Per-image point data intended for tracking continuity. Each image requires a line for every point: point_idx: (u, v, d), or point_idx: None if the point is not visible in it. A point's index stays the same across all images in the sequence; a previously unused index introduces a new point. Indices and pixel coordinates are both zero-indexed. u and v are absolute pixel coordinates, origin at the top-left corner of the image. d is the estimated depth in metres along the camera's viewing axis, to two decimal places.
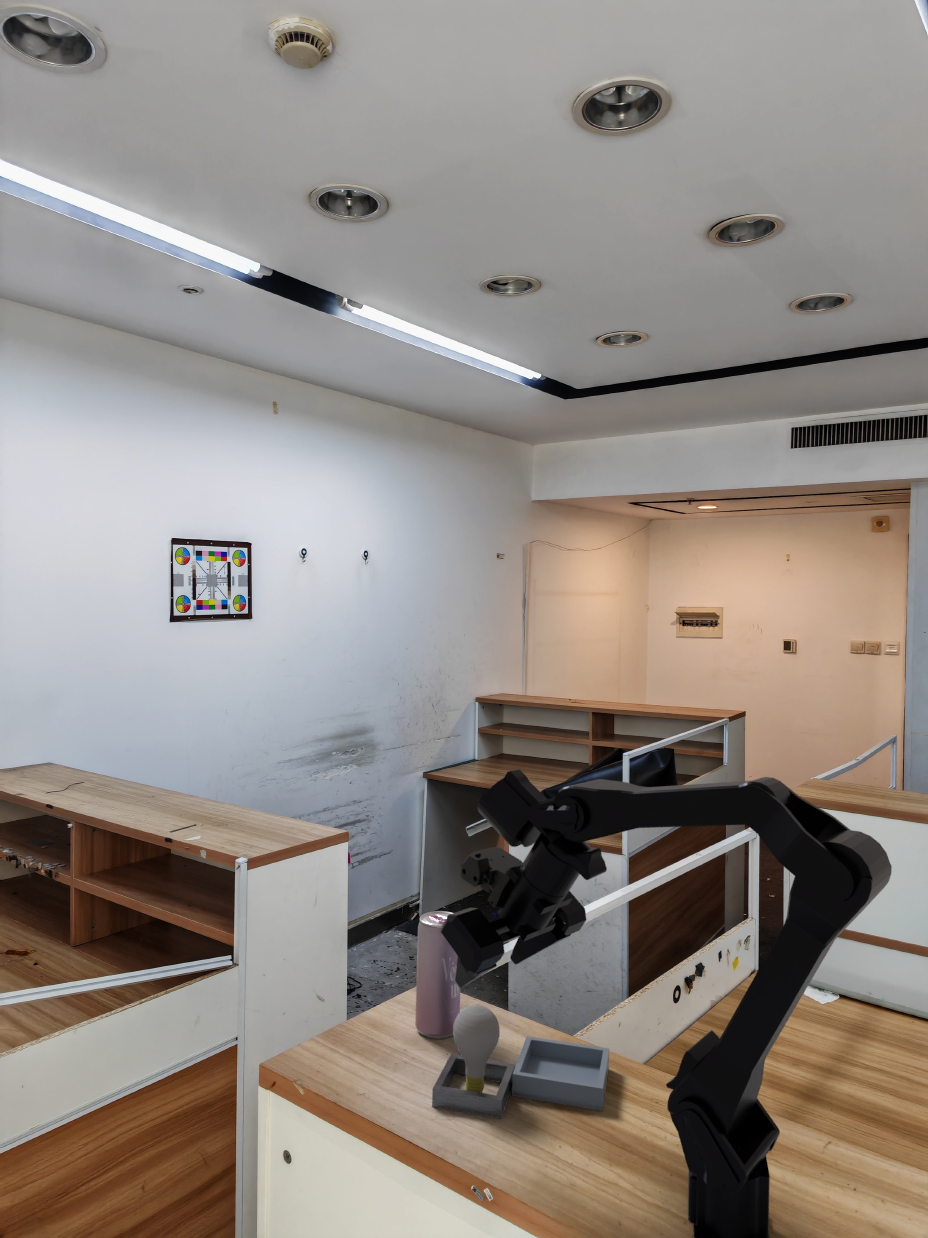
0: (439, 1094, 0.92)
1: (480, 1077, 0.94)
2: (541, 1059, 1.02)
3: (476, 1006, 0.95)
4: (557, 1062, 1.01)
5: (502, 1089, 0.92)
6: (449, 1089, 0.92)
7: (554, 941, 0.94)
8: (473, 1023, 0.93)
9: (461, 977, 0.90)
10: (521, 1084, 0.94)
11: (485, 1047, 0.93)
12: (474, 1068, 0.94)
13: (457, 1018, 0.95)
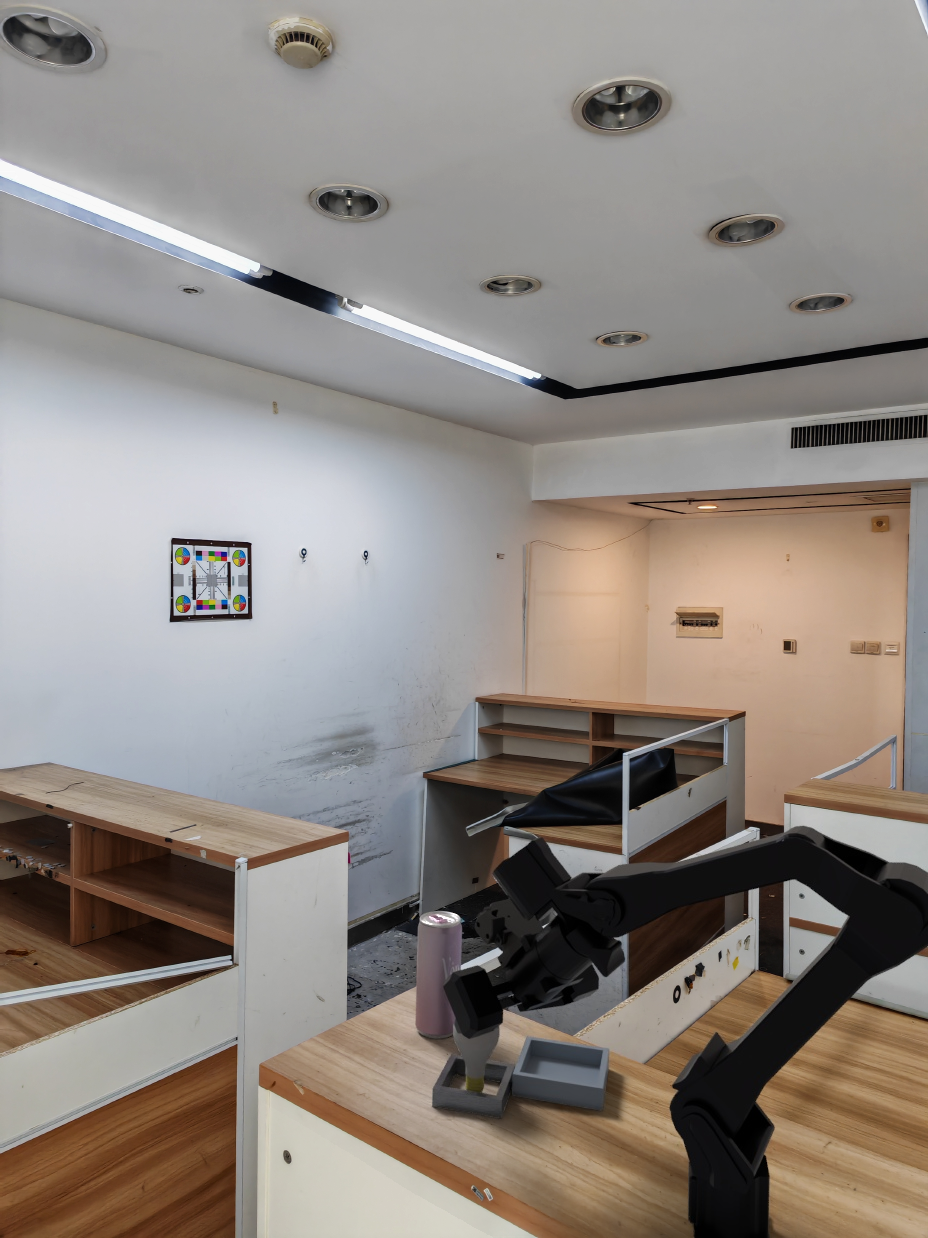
0: (439, 1094, 0.92)
1: (480, 1077, 0.94)
2: (541, 1059, 1.02)
3: None
4: (557, 1062, 1.01)
5: (502, 1089, 0.92)
6: (449, 1089, 0.92)
7: (561, 1004, 0.91)
8: None
9: None
10: (521, 1084, 0.94)
11: (485, 1047, 0.93)
12: (474, 1068, 0.94)
13: None
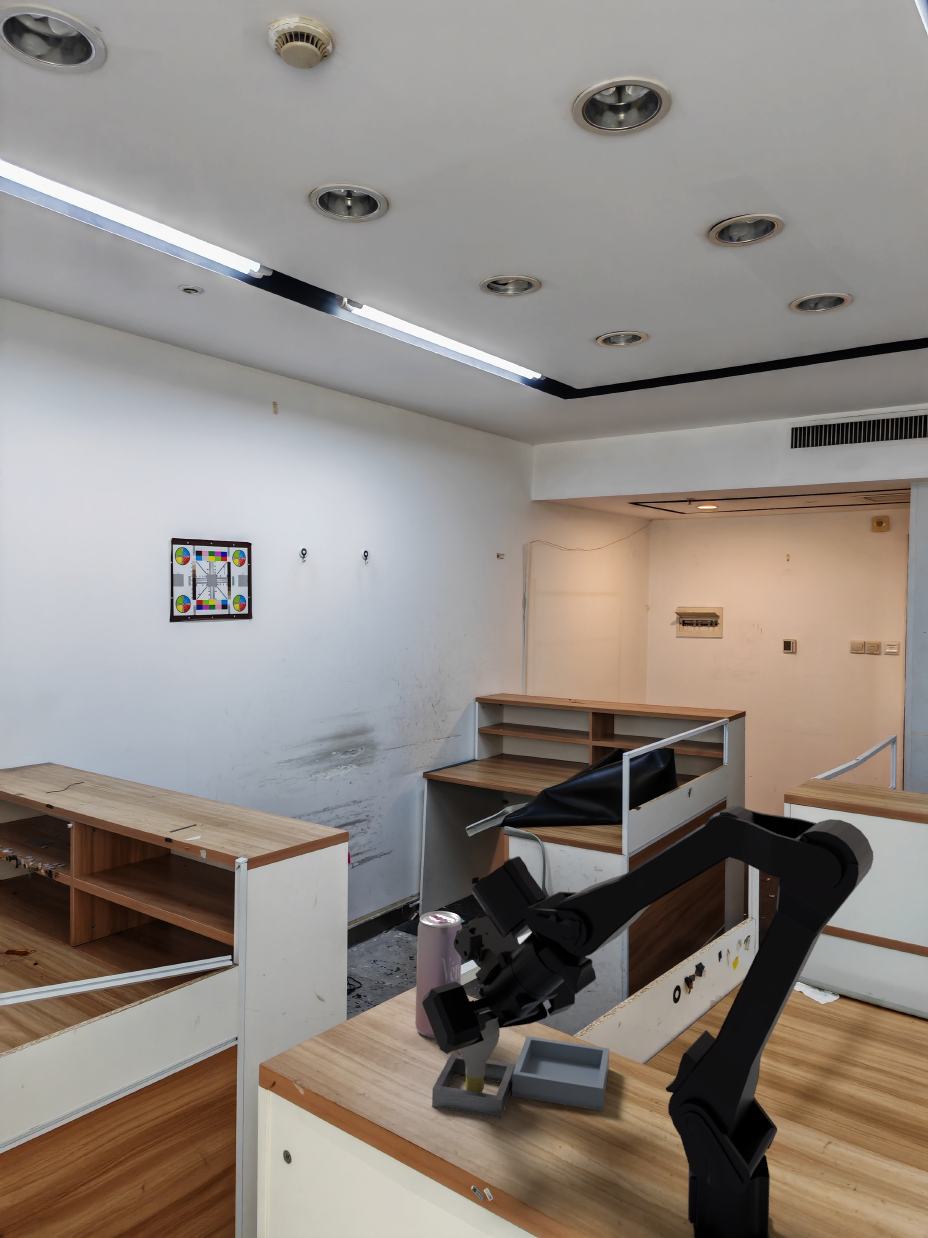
0: (439, 1094, 0.92)
1: (480, 1077, 0.94)
2: (541, 1059, 1.02)
3: None
4: (557, 1062, 1.01)
5: (502, 1089, 0.92)
6: (449, 1089, 0.92)
7: (527, 1023, 0.93)
8: None
9: None
10: (521, 1084, 0.94)
11: (485, 1047, 0.93)
12: (474, 1068, 0.94)
13: None
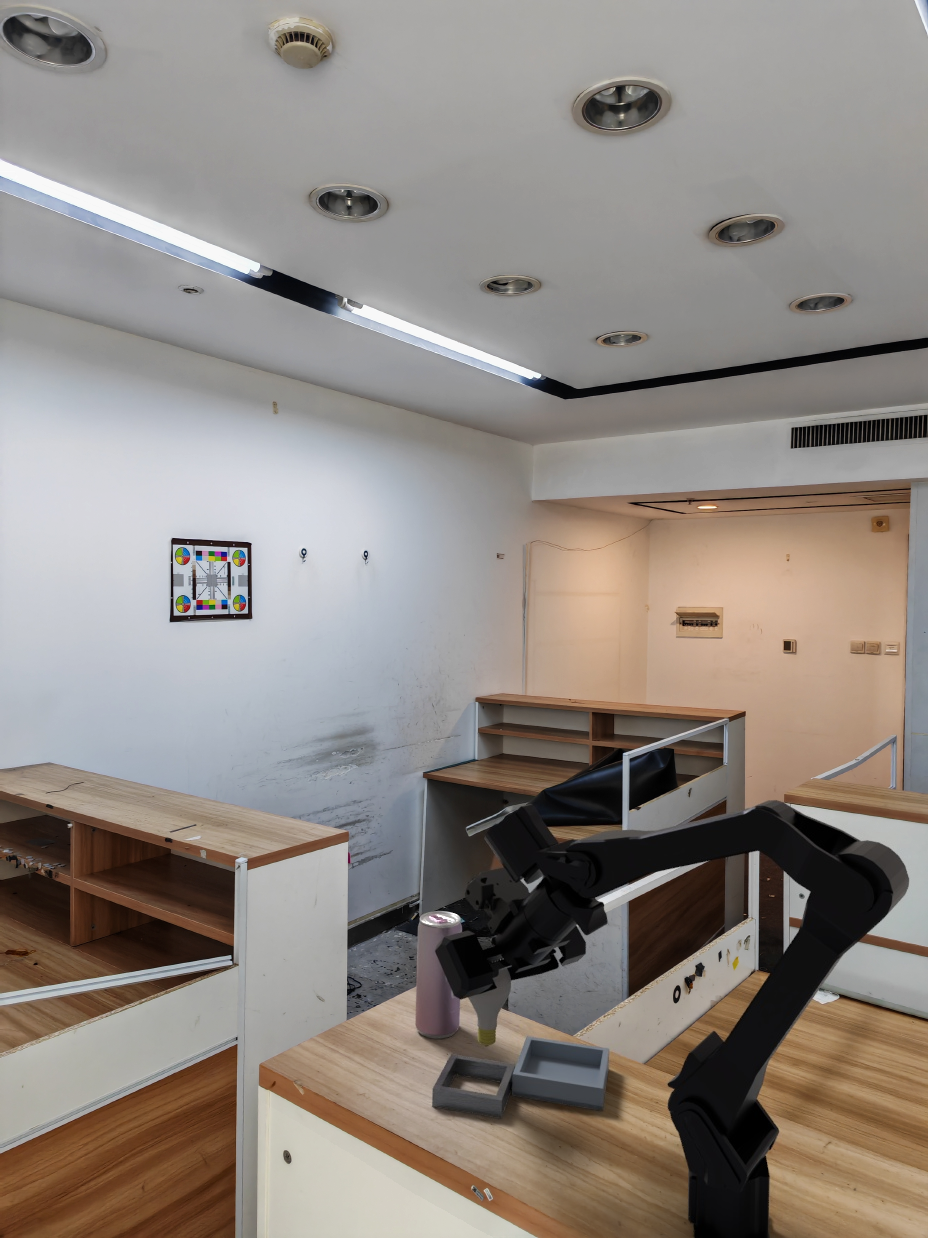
0: (439, 1094, 0.92)
1: (492, 1029, 0.94)
2: (541, 1059, 1.02)
3: None
4: (557, 1062, 1.01)
5: (502, 1089, 0.92)
6: (449, 1089, 0.92)
7: (539, 973, 0.94)
8: None
9: None
10: (521, 1084, 0.94)
11: (497, 997, 0.93)
12: (486, 1019, 0.94)
13: None
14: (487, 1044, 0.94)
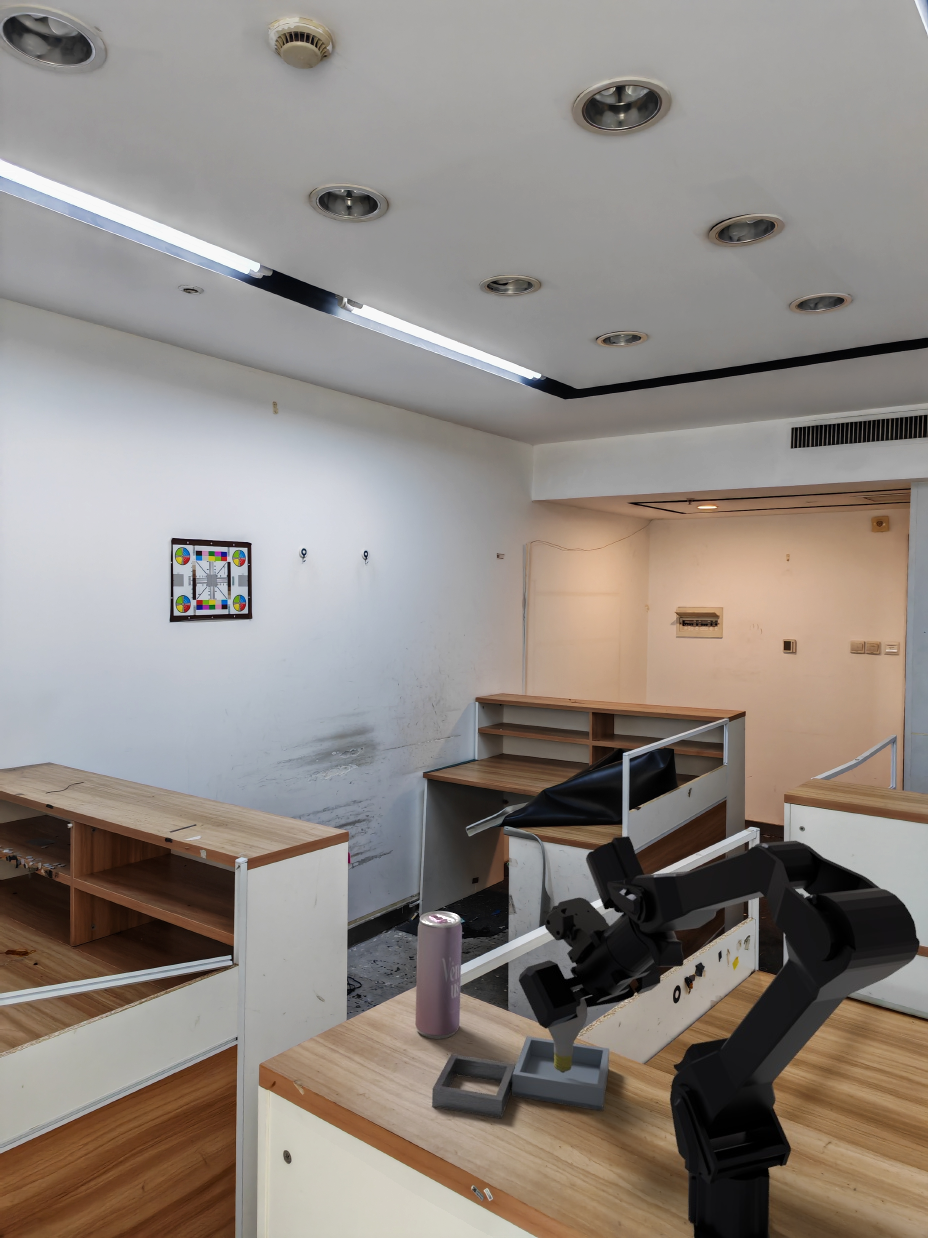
0: (439, 1094, 0.92)
1: (569, 1055, 0.97)
2: (541, 1059, 1.02)
3: None
4: None
5: (502, 1089, 0.92)
6: (449, 1089, 0.92)
7: (616, 1001, 0.96)
8: None
9: None
10: (521, 1084, 0.94)
11: (575, 1025, 0.96)
12: (563, 1046, 0.97)
13: None
14: (564, 1070, 0.97)
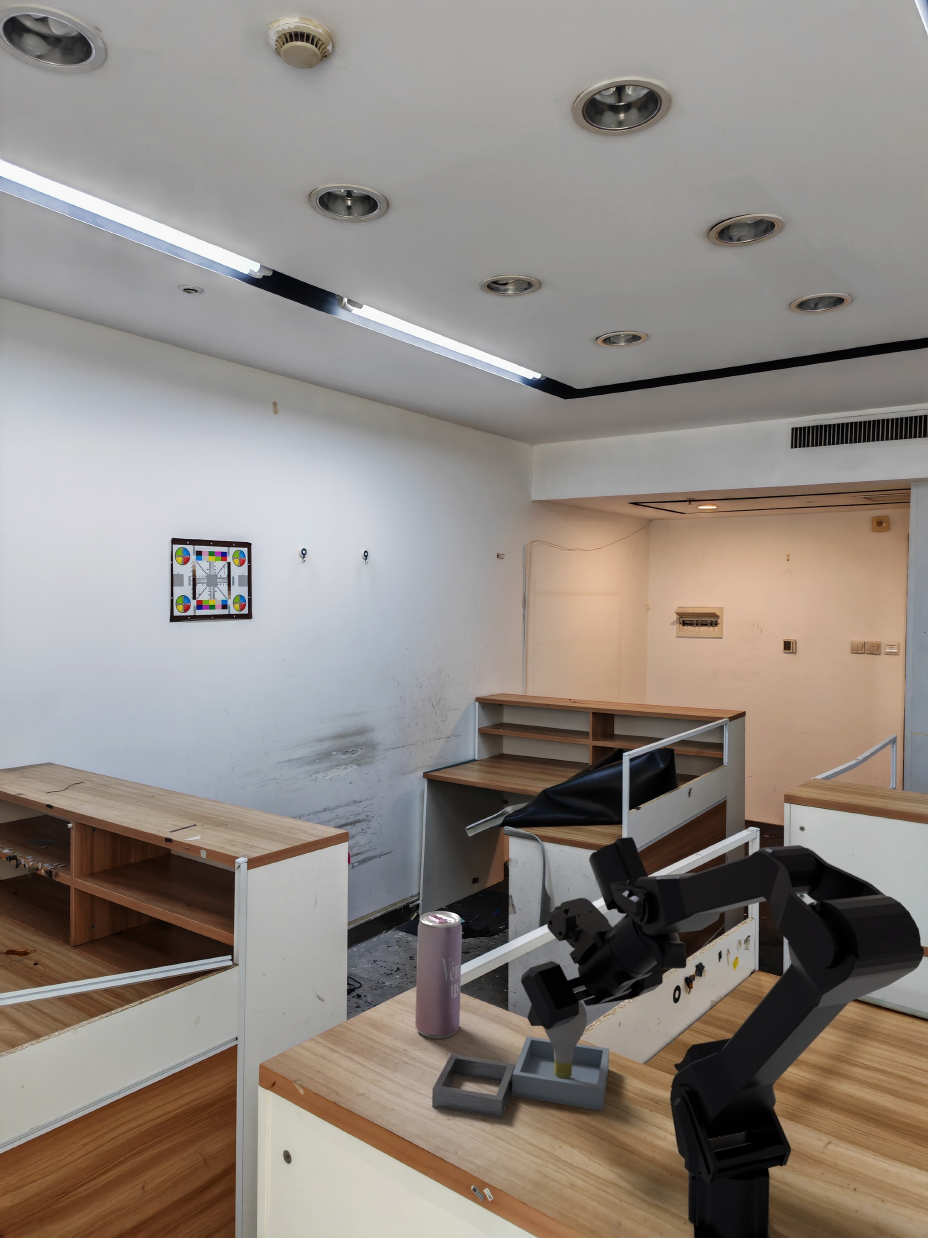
0: (439, 1094, 0.92)
1: (569, 1062, 0.97)
2: (541, 1059, 1.02)
3: None
4: None
5: (502, 1089, 0.92)
6: (449, 1089, 0.92)
7: (627, 998, 0.97)
8: None
9: (533, 1018, 0.95)
10: (521, 1084, 0.94)
11: (575, 1032, 0.96)
12: (563, 1053, 0.97)
13: None
14: (564, 1077, 0.97)
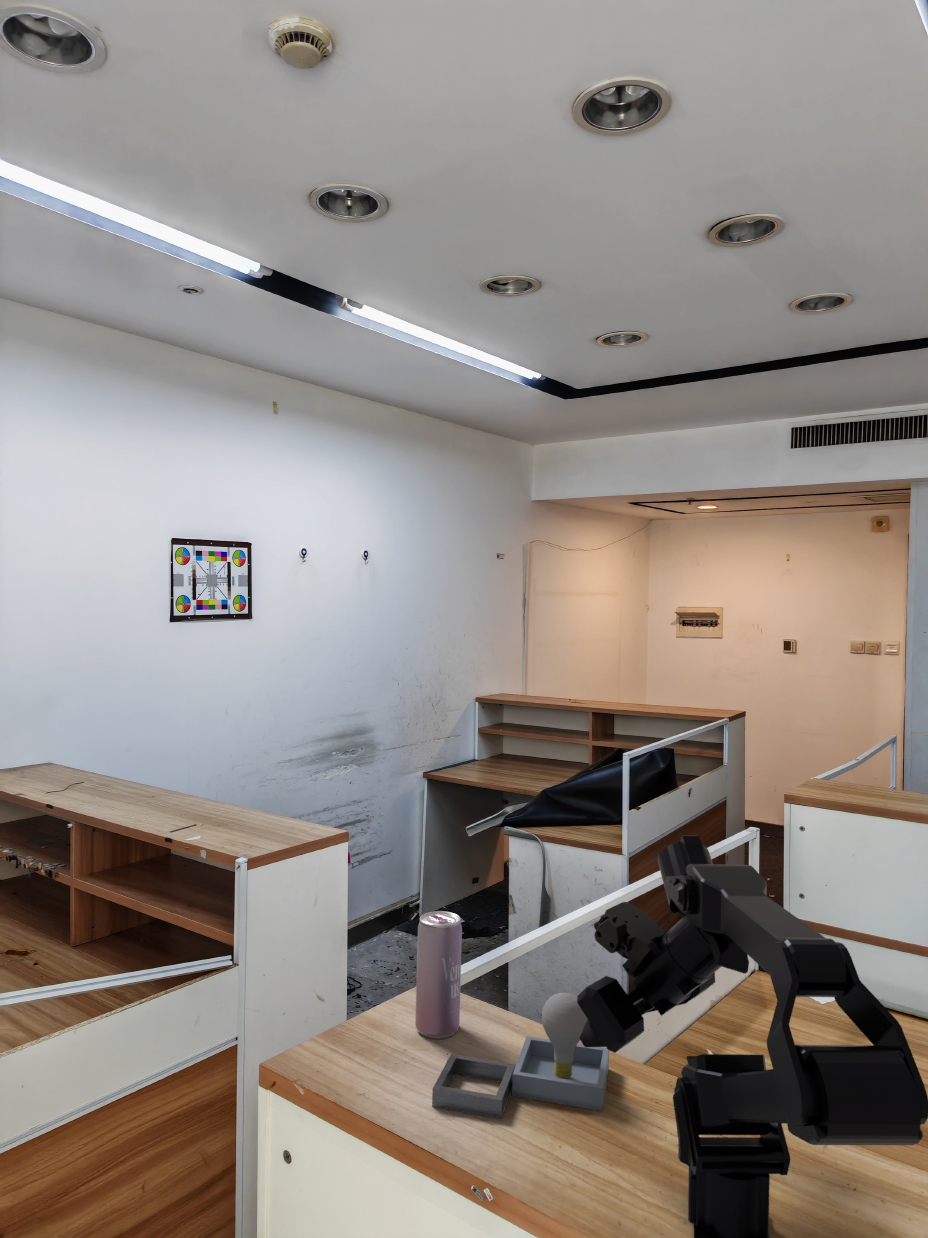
0: (439, 1094, 0.92)
1: (569, 1063, 0.97)
2: (541, 1059, 1.02)
3: (564, 994, 0.98)
4: None
5: (502, 1089, 0.92)
6: (449, 1089, 0.92)
7: (681, 1003, 0.91)
8: (563, 1010, 0.96)
9: (588, 1039, 0.87)
10: (521, 1084, 0.94)
11: (575, 1033, 0.95)
12: (563, 1054, 0.97)
13: (546, 1005, 0.98)
14: (564, 1077, 0.97)
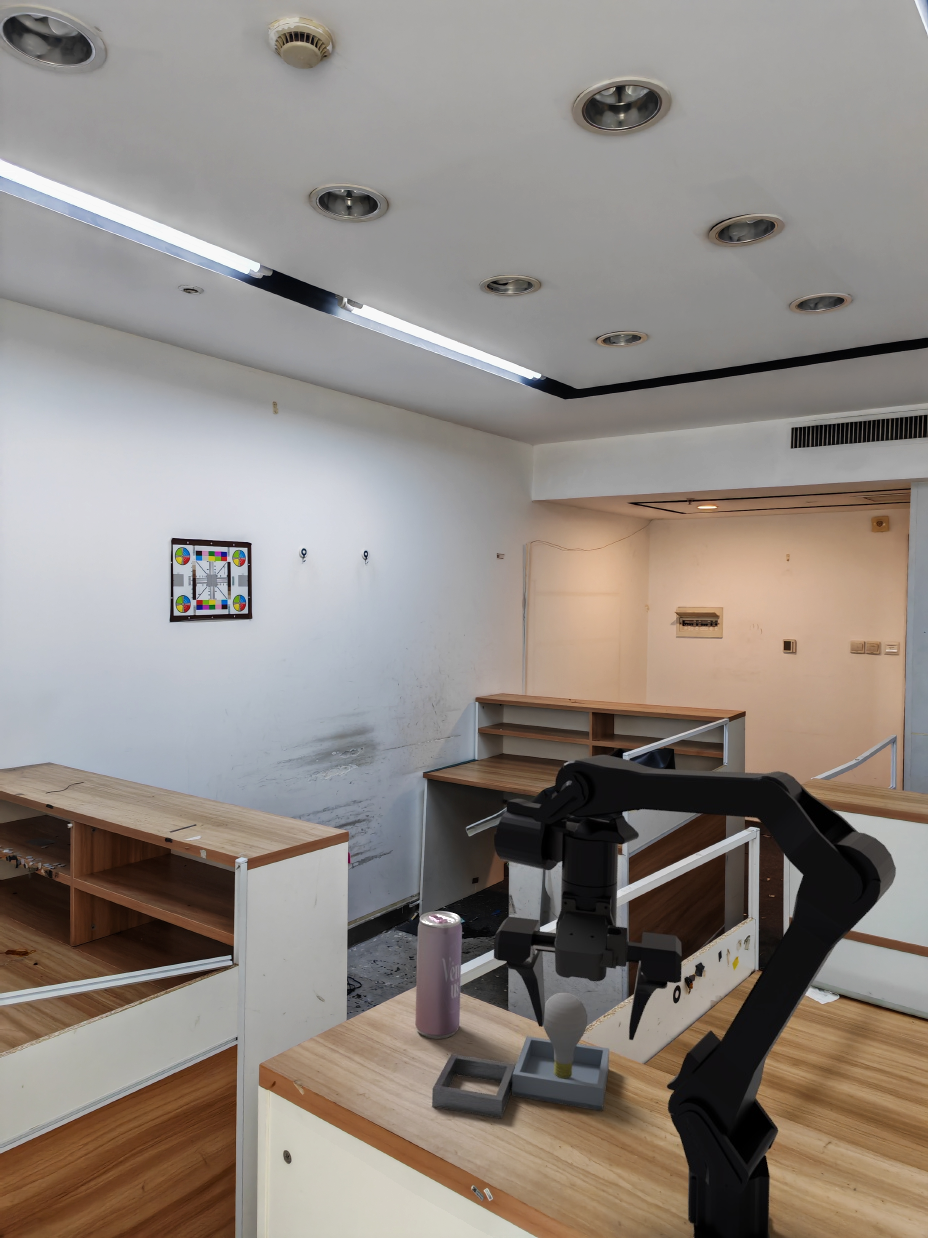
0: (439, 1094, 0.92)
1: (569, 1063, 0.97)
2: (541, 1059, 1.02)
3: (564, 994, 0.98)
4: None
5: (502, 1089, 0.92)
6: (449, 1089, 0.92)
7: (542, 952, 0.88)
8: (563, 1010, 0.96)
9: None
10: (521, 1084, 0.94)
11: (575, 1033, 0.95)
12: (563, 1054, 0.97)
13: (546, 1005, 0.98)
14: (564, 1077, 0.97)
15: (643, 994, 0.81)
